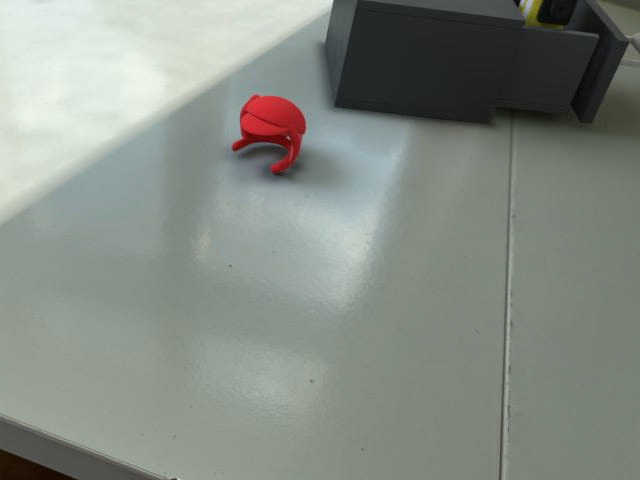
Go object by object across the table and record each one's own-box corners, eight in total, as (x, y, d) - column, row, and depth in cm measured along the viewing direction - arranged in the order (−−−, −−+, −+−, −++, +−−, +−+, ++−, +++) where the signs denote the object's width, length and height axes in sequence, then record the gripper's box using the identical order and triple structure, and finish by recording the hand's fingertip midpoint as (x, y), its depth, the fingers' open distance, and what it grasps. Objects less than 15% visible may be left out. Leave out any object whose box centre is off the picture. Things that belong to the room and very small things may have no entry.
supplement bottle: (562, 53, 80) (596, -29, 74) (527, 57, 78) (559, -27, 73) (532, 33, 83) (562, -48, 78) (497, 36, 81) (526, -46, 76)
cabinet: (460, 62, 89) (491, -34, 82) (488, 124, 79) (526, 20, 72) (324, 45, 88) (343, -54, 81) (334, 106, 78) (357, -1, 70)
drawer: (611, 74, 90) (647, -2, 84) (654, 131, 80) (697, 50, 74) (431, 52, 88) (454, -27, 82) (452, 108, 78) (480, 22, 73)
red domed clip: (241, 130, 72) (249, 69, 68) (305, 144, 71) (317, 84, 67) (220, 175, 66) (228, 112, 62) (289, 192, 65) (301, 129, 61)
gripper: (707, -169, 60) (607, 53, 72) (628, -211, 73) (554, -16, 85) (614, -183, 60) (529, 43, 72) (551, -223, 72) (487, -25, 84)
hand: (544, 9), depth 78 cm, fingers closed on supplement bottle, 4 cm apart
